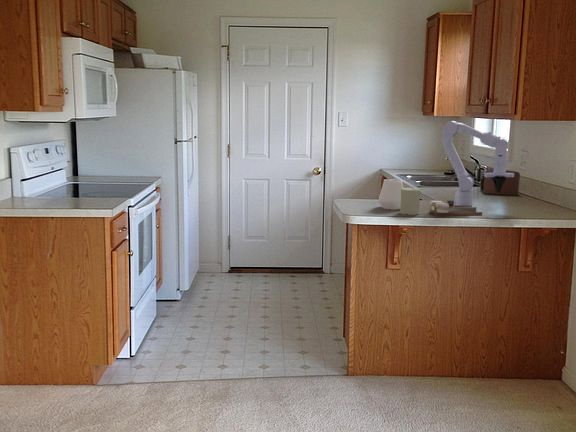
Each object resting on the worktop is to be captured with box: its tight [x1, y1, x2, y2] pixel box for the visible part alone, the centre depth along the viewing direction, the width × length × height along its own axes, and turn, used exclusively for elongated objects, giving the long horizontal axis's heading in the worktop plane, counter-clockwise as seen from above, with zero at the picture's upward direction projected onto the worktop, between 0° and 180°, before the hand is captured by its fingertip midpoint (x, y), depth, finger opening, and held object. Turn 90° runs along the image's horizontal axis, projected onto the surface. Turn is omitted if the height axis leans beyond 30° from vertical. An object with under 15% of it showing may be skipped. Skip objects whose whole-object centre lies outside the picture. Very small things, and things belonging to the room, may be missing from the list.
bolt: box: [432, 199, 455, 211], centre depth 306 cm, size 3×10×4 cm, turn 100°
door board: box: [429, 200, 483, 217], centre depth 307 cm, size 10×22×6 cm, turn 100°
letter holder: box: [479, 169, 521, 196], centre depth 376 cm, size 10×20×14 cm, turn 83°
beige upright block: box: [399, 187, 421, 216], centre depth 305 cm, size 9×9×12 cm
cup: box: [378, 178, 404, 211], centre depth 318 cm, size 13×13×14 cm
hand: (497, 191), depth 316 cm, fingers closed
